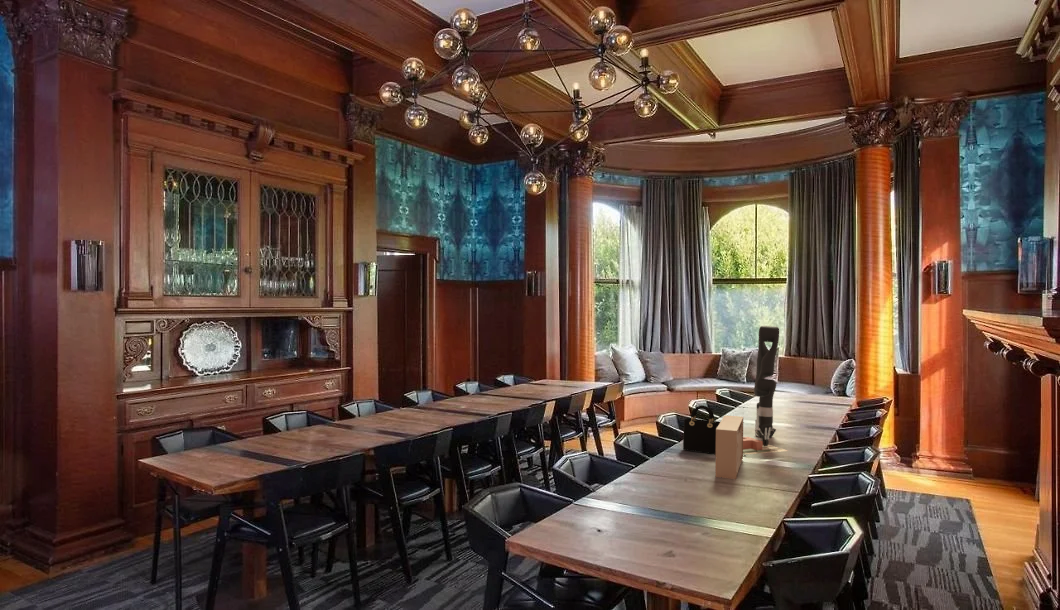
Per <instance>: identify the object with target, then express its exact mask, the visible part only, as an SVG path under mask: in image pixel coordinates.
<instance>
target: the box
mask: <svg viewBox="0 0 1060 610" xmlns="http://www.w3.org/2000/svg"><path fill="white" fill-rule="evenodd" d="M719 422H720V424H719V425H718V427H717V428H716V454H715V464H714V465H715V469H714V470H715V477H716V478H721V477H722V479H730V480H731V479H732V480H737V476H738V472H739V470H740V467H741V464H742V461H743V460H744V456H743V455H744V454H743V437H744V423H745V422H744V416H740V415H739V416H735V415H725V414H724V416H723V417H722V419H721V421H719ZM742 459H743V460H742Z"/></svg>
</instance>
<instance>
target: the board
mask: <svg viewBox="0 0 1060 610" xmlns="http://www.w3.org/2000/svg"><path fill="white" fill-rule="evenodd" d="M780 452H789V450H786V449H784V448H781V447H777V446H774V445H771V444H768V446H763V450H754V449H743V455H744V456H743V457H745V456H748V455H758V454H767V453H768V454H769V453H780Z"/></svg>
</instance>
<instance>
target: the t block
mask: <svg viewBox="0 0 1060 610" xmlns="http://www.w3.org/2000/svg"><path fill="white" fill-rule="evenodd" d="M743 449H754V450H763V440H761V439H756V438H753V437H750V436H743Z"/></svg>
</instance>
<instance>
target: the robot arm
mask: <svg viewBox="0 0 1060 610" xmlns="http://www.w3.org/2000/svg"><path fill="white" fill-rule="evenodd" d="M758 329H759V330H758V349H757V357H756V358H757V359H756V373H755V375H756V376H755V382H754V389H753V393H754V395H755V397H758V400H759V401H758V402H757V403H756V417H755V418H756V419H755V420H754V421H755V423H754V424H755V425H754V426H755V427H754V428H755V429H754V434H755V436H757V437H759V438H760V439H762V441H763V446H768V445H769V440H770V439H772V437H773V436H774V434H775V432H777V429H776V428H774V427H773V426H774V425H773V424H774V410H773V407H774V405H773V403H774V401H773V400H774V395H775V392H776V389H777V382H776V380H774V379H768V378H769V377H772V376H774V373H775V362H776V355H777V351H778V345H779V340H780V328H779V327H778V326H773V325H761V326H760V327H759V328H758ZM766 342H767V343H772V344H771V347H769V348H768V346H767V345H766Z"/></svg>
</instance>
